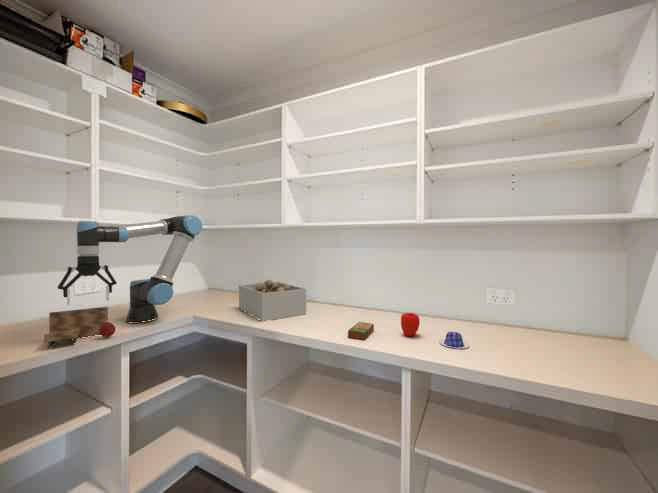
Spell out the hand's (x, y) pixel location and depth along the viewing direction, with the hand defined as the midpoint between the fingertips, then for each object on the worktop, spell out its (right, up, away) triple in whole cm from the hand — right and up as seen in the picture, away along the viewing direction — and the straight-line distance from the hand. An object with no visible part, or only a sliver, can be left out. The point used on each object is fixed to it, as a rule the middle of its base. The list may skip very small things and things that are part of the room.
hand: (88, 302), depth 128 cm
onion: (+7, -17, +2) cm, 19 cm away
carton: (+125, -18, +10) cm, 126 cm away
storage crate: (+72, -17, +54) cm, 91 cm away
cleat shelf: (-6, -17, -6) cm, 19 cm away
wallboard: (-5, -17, +2) cm, 18 cm away
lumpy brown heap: (+71, -17, +54) cm, 91 cm away
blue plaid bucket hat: (+164, -19, -3) cm, 165 cm away
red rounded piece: (+148, -18, +8) cm, 149 cm away
